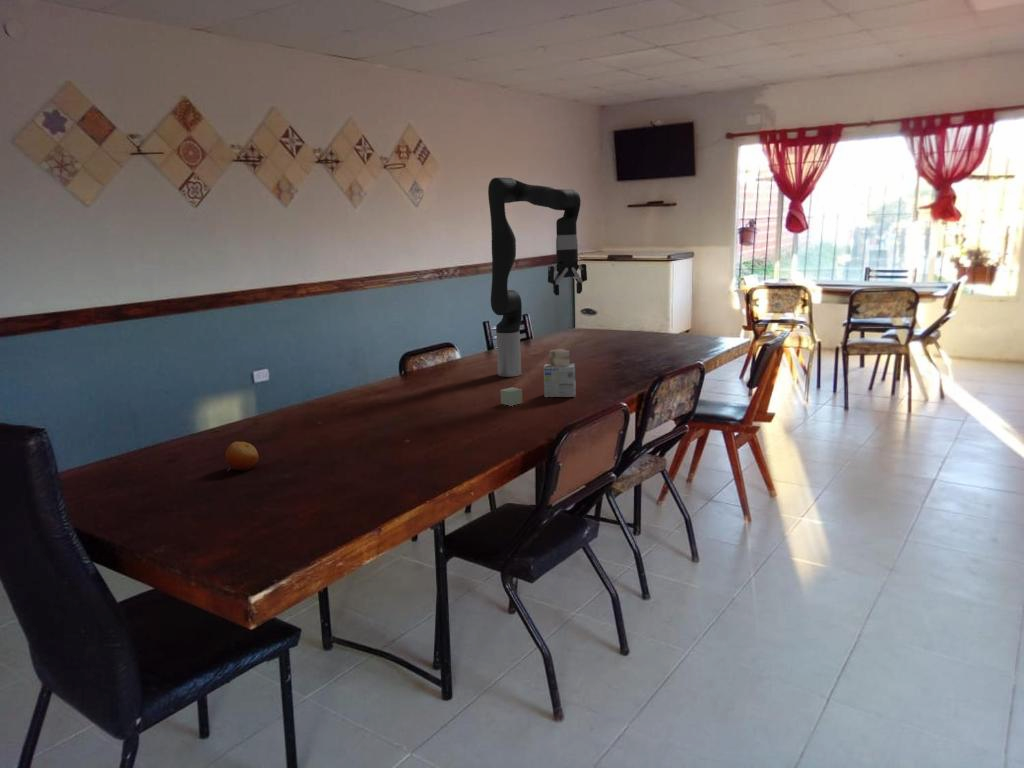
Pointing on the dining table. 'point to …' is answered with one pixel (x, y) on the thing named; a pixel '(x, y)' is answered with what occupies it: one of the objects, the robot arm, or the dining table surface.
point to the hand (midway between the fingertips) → (567, 294)
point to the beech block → (559, 358)
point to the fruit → (241, 456)
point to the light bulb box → (559, 381)
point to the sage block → (511, 396)
